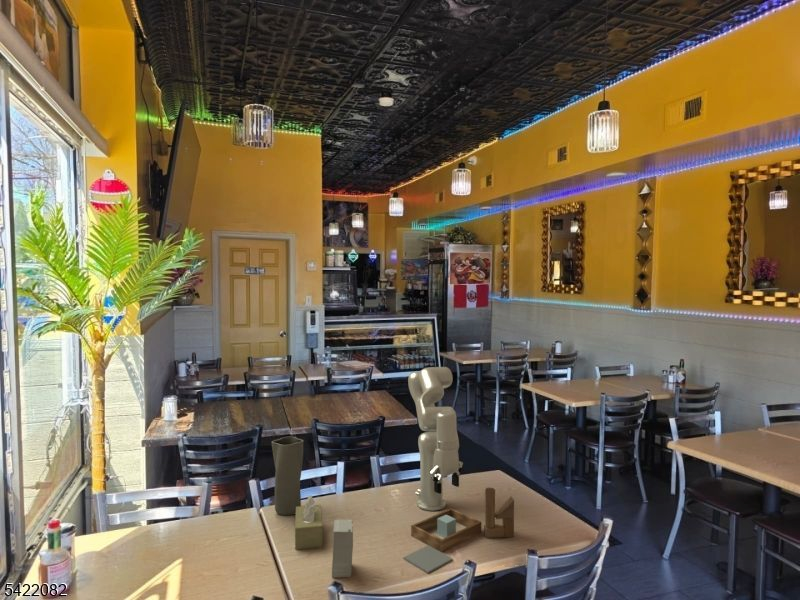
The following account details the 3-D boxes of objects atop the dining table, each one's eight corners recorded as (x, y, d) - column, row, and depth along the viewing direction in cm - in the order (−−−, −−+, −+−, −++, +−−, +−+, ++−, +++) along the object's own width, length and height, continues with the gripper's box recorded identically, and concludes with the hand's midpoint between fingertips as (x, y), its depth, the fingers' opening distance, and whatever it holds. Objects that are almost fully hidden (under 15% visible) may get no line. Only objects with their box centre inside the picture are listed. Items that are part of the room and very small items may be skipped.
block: (437, 534, 194) (437, 518, 194) (446, 529, 198) (446, 514, 198) (446, 538, 191) (446, 523, 190) (455, 534, 194) (455, 519, 194)
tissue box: (322, 548, 185) (322, 505, 184) (295, 550, 183) (294, 507, 182) (321, 523, 203) (320, 484, 203) (296, 526, 201) (295, 486, 201)
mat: (403, 558, 177) (403, 557, 177) (427, 546, 185) (427, 545, 185) (427, 573, 168) (427, 571, 168) (452, 560, 176) (452, 558, 176)
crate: (411, 535, 193) (411, 525, 193) (450, 517, 207) (450, 508, 207) (441, 552, 181) (441, 541, 181) (481, 532, 196) (481, 521, 195)
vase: (309, 511, 214) (308, 441, 213) (282, 520, 206) (281, 447, 205) (294, 502, 223) (294, 434, 222) (268, 510, 215) (267, 440, 214)
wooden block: (514, 536, 192) (514, 489, 191) (486, 538, 191) (486, 491, 190) (511, 532, 195) (511, 486, 195) (483, 533, 194) (483, 487, 194)
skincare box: (332, 564, 173) (332, 519, 173) (353, 563, 174) (353, 518, 173) (331, 579, 165) (330, 531, 164) (353, 577, 166) (353, 530, 165)
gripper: (454, 437, 201) (454, 480, 202) (423, 447, 190) (423, 492, 190) (469, 442, 196) (469, 486, 196) (437, 451, 184) (438, 498, 185)
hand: (446, 489), depth 193 cm, fingers open, 9 cm apart
